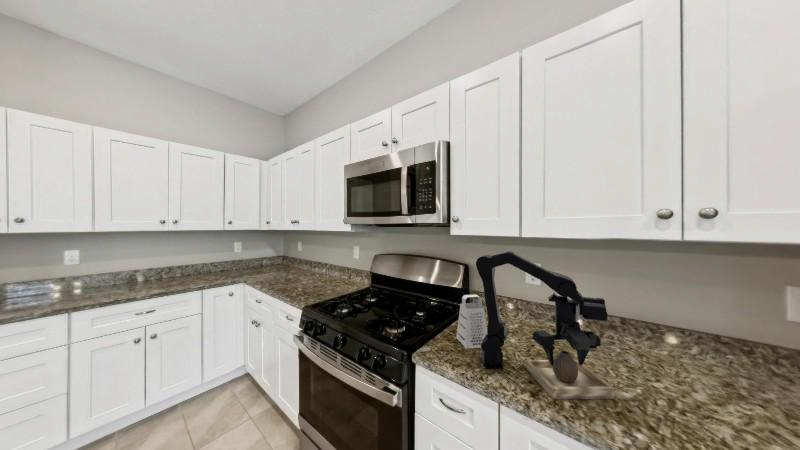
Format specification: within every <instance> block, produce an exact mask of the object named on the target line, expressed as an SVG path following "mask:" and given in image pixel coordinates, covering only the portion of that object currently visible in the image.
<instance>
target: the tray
mask: <svg viewBox="0 0 800 450" xmlns="http://www.w3.org/2000/svg"><path fill="white" fill-rule="evenodd" d="M573 360H574V361H575V362H576V364H577V367H578V377H577V379H576V380H575V381H574V382H572V383H565V382H562V381H560V380H559V379H558V378H557V377H556V375H555V374H554V371H553V366H552V365H551V364H550V362H549V360H548V359H525V369H526V371H527V372H528V373H529V374H530V376H532V377H533V378H534V380H535V381H536V382H537V384H538V385H539V386H540V387H541V388H542V389H543V390H544V391H545V393H547V395H548V396H549V397H550V398H551V399H552V400H615V399H616V393H615V392H616V388H614V387H613V386H612V385H611V384H610V383H608V382H607V381H606V380H604V379H603V378H602V377H600V376H599V375H598V374H596V373H595V372H594V371H593V370H591V369H590V368H589V367H588V366H586V365H585V364H583V365H580V364H579V362H578V359H573Z"/></svg>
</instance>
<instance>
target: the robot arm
mask: <svg viewBox="0 0 800 450" xmlns="http://www.w3.org/2000/svg"><path fill="white" fill-rule="evenodd" d="M507 264H509V265H511V266H512V267H514V268H517V269H518V270H521V271H522V272H524V273H525V274H528V275H530V276H532V277H534V278H536V279H537V280H539V281H541V282H543V283H544V284H545V285H546V286H548V287H549V288H550V289H551V290H553V291H554V292H552V294H550V295H549V296H548V297H547V298H548V299H547V300H548V301H549V302H550V303H551V302H554V315H553V316H552V320H554V325H555V326H554V328H552V333H555V334H550V333H549V332H547V331H546V330H534V331H533V333H532V340H533V341H535V342H536V343H537V344H538V345H539V346H541V347H542V349H543V351H544V353H545V356H546V357H547V360H549V362H550V364H551V365H552V366H553V363H554V358H555V357H554V350H555V349H556V347H555V342H567V343H568V344H569V345H570V347H571V349H573V350H574V351H576V355H577V360H578V362H579V364H580V365H584V362H585V360H586V357H587V355H588V354H589V352H590V351H592V350H594V349H597V348H598V347H601V346H602V339H601V337H600V336H599V335H597V334H596V332H594V331H590V330H589V329H588V330H587V329H585V330H584V329H583V330H582V329H581V325H580V322H579V321H576V304H578V313H579V315H582V316H581V318H582V319H583V320H589V321H597V322H604V323H606V322H608V311H607V306H606V301H605V299H604V298H603V297H588V296H583V295H582V293H581V292H580V291H578V289H577V288H578V287H577V285H576V283H575V280H574V279H572V278H571V277H570V276H568V275H564V274H561V273H559V272H555V271H553V270H552V271H551V270H548V269H546V268H544V267H542V266H540V265H538V264H537V263H534V262H532V261H531V260H528V259H526V258H524V257H522V256H520V255H518V254H516V253H515V252H514V251H512V250H508V251H506V252H502V253H498V254H493V255H491V254H484V255H481V256H480V257H478V258H477V259H476V261H475V267H476V269H477V273H478V275H479V277H480V279H481V282H482V287H483V293H484V300H485V306H486V314H487V319H488V320H487V321H488V322H487V335H485V337H484V339H483V340H482V342H481V347H480V348H481V357H480V358H479V359H480V360H479V361H480V362H481V363H482V365H483V367H484V368H485V370H486V369H487V370H488V369H491V370H492V369H494V370H495V369H497V370H498V369H500V370H501V369H504V368H505V367H504V365H503V364H504V353H503V351H502V347H503V346H504V345H505V341H506V340H507V338H508V335H509V330H508V328H507V321H502V318H501V314H500V308H499V302H498V296H497V289H496V284H495V283H496V282H495V276H496V275H495V274H496V268H498V267H500V266H503V265H507ZM556 293H557V294H556Z"/></svg>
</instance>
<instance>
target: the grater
mask: <svg viewBox="0 0 800 450" xmlns="http://www.w3.org/2000/svg"><path fill="white" fill-rule="evenodd" d="M468 298H477V302H467V303H466V300H467V299H468ZM482 303H483V300H482V298H481V296H479V295H478V294H464V295H463V296H462V297H461V303H460V306H459V314H458V320H457V329H456V330H457V331H456V337H455V338H456V339H457V340H458V342H459V343H460V342H461V343H460V344H461V345H462V346H463V347H464V348H465V349H466V350H467V349H476V348H478V349H479V348H482V347H481V343H482V341H483V339H484V337H485V335H487V328H488V325H487V320H486V314H485V313H486V312H485V308H484V306H483V304H482Z"/></svg>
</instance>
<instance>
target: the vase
mask: <svg viewBox="0 0 800 450" xmlns="http://www.w3.org/2000/svg"><path fill="white" fill-rule="evenodd" d="M553 358H554V363H553V371H554V374H555V375H556V377H557V378H558V379H559V380H560V381H562V382H565V383H572V382H574V381H575V380H576V379H577V377H578V367H577V364H576V362H575V361H574V360H575V359H574V358H573V357H572V356H571V354H570V352H569V351H567V350H560V352H559V353H558V354H556V356H555V357H553Z"/></svg>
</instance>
